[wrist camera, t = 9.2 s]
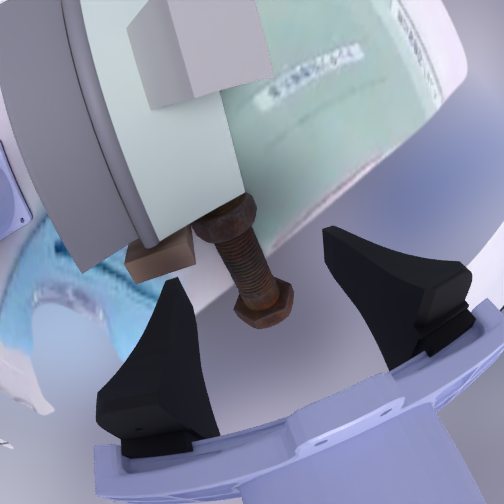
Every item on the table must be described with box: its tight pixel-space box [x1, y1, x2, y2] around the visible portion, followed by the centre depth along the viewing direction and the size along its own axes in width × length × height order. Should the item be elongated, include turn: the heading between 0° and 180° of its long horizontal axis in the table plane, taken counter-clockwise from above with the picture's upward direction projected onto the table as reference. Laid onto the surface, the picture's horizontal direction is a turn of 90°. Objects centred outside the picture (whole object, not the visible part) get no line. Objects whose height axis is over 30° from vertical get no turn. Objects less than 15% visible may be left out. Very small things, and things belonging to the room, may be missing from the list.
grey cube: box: [126, 0, 275, 110], centre depth 10 cm, size 4×5×5 cm
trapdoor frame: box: [60, 0, 196, 284], centre depth 13 cm, size 5×22×7 cm, turn 12°
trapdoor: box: [0, 0, 245, 274], centre depth 11 cm, size 11×18×3 cm, turn 12°
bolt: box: [190, 192, 294, 329], centre depth 22 cm, size 6×5×15 cm
